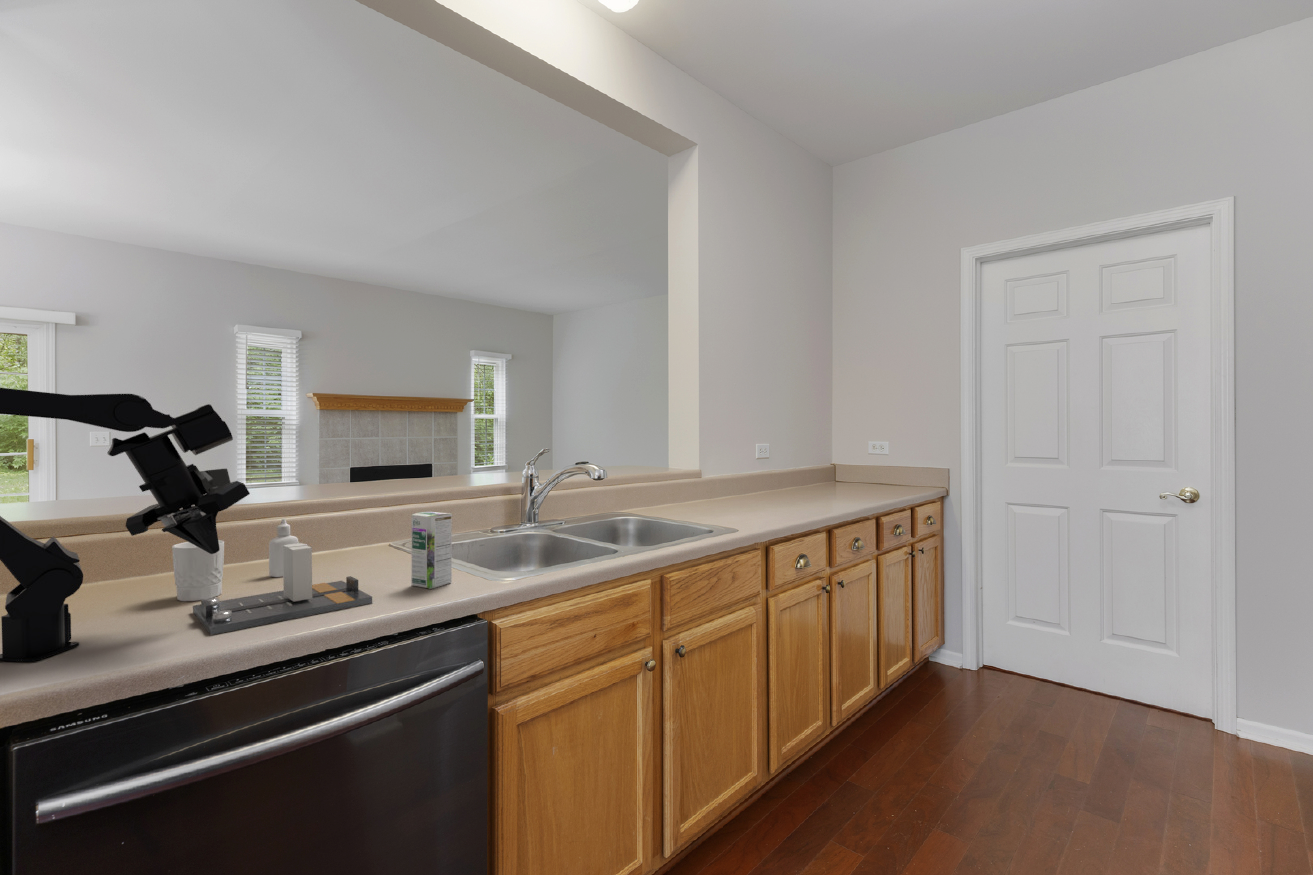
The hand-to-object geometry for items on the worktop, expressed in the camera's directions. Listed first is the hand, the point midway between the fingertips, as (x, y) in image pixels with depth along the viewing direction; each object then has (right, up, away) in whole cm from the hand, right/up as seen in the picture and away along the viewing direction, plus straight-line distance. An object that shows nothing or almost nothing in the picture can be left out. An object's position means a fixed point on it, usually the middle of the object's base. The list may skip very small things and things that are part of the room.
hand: (215, 552), depth 102 cm
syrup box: (+27, -11, +23) cm, 37 cm away
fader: (+9, -10, +9) cm, 15 cm away
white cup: (-13, -11, +14) cm, 22 cm away
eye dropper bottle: (-7, -11, +31) cm, 34 cm away
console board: (+7, -11, +7) cm, 15 cm away
